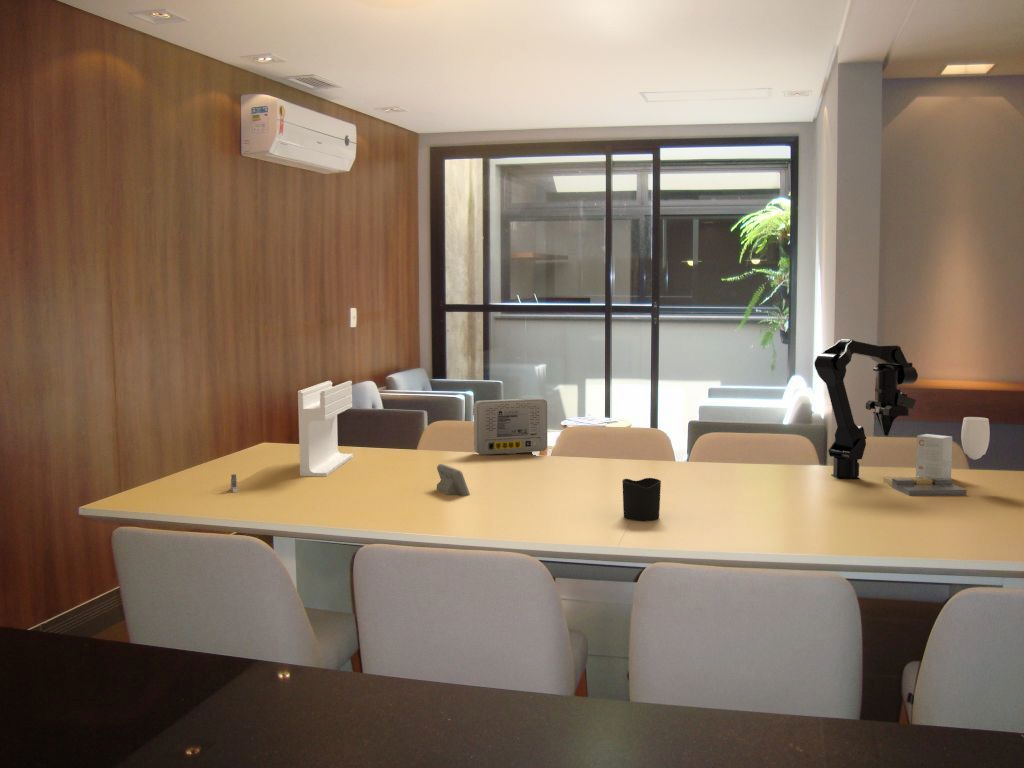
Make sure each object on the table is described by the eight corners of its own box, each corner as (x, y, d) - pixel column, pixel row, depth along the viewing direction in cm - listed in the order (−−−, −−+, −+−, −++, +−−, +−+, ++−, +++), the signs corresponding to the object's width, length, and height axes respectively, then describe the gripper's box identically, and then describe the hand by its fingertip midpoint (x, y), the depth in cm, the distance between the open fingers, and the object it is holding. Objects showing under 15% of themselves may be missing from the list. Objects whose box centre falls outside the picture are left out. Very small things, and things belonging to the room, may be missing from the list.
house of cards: (207, 500, 263) (206, 473, 263) (239, 497, 267) (238, 470, 266) (211, 506, 255) (210, 478, 255) (244, 503, 259) (243, 476, 258)
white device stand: (329, 463, 319) (328, 380, 316) (353, 463, 318) (351, 380, 316) (300, 484, 284) (297, 391, 281) (326, 484, 283) (324, 391, 281)
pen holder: (651, 526, 229) (651, 485, 229) (615, 522, 234) (616, 482, 234) (666, 518, 237) (666, 479, 237) (632, 514, 242) (632, 475, 241)
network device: (541, 453, 338) (541, 397, 336) (550, 457, 330) (550, 399, 328) (472, 457, 330) (471, 400, 328) (479, 461, 322) (479, 402, 320)
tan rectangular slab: (899, 491, 269) (899, 480, 269) (883, 484, 280) (883, 473, 280) (948, 490, 269) (948, 479, 269) (930, 483, 280) (930, 473, 280)
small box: (951, 479, 287) (953, 436, 286) (941, 481, 283) (942, 438, 282) (925, 475, 293) (927, 433, 292) (915, 477, 289) (916, 435, 288)
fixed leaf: (908, 497, 261) (909, 486, 260) (891, 489, 272) (892, 478, 271) (966, 497, 261) (966, 485, 261) (947, 488, 272) (947, 477, 272)
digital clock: (472, 503, 257) (472, 470, 256) (444, 505, 255) (444, 471, 254) (460, 493, 270) (460, 461, 269) (433, 495, 268) (433, 463, 267)
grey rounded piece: (958, 492, 268) (961, 419, 266) (959, 487, 274) (962, 416, 272) (987, 494, 264) (990, 420, 262) (987, 489, 271) (990, 417, 269)
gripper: (927, 388, 284) (925, 439, 286) (900, 382, 303) (898, 431, 304) (890, 388, 284) (888, 440, 285) (865, 382, 302) (864, 431, 304)
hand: (885, 435), depth 295 cm, fingers closed
